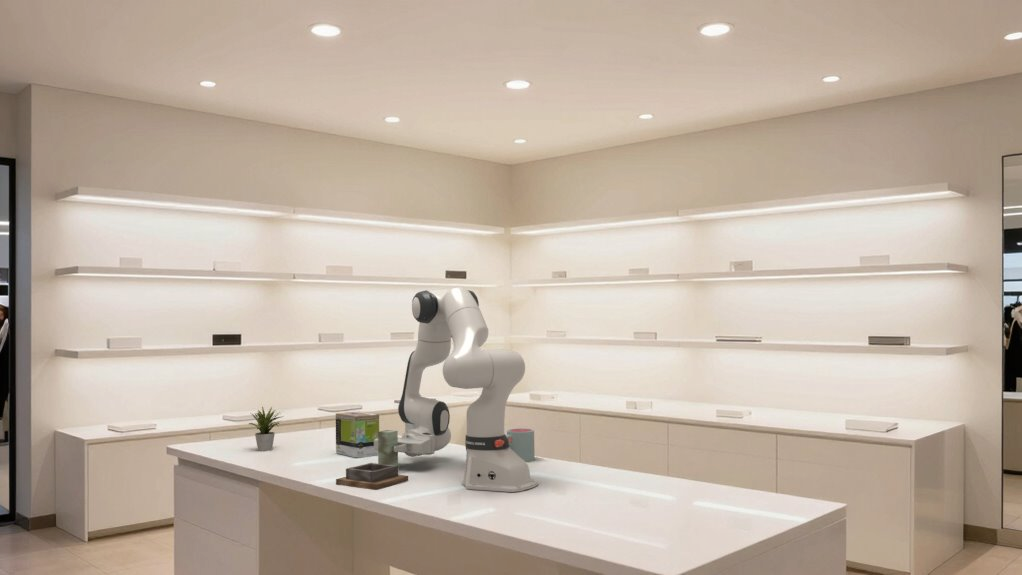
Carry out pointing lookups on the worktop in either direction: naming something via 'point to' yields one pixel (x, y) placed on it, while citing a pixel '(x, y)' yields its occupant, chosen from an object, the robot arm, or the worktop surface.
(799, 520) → the worktop surface
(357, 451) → the tea box
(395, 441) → the green peg
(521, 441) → the mug
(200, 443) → the worktop surface
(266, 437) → the house plant
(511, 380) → the robot arm
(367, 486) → the display stand
